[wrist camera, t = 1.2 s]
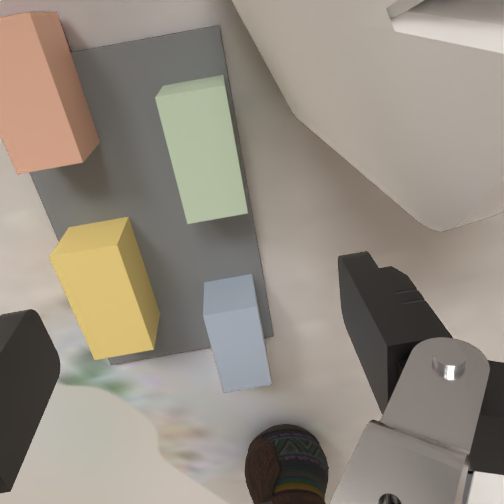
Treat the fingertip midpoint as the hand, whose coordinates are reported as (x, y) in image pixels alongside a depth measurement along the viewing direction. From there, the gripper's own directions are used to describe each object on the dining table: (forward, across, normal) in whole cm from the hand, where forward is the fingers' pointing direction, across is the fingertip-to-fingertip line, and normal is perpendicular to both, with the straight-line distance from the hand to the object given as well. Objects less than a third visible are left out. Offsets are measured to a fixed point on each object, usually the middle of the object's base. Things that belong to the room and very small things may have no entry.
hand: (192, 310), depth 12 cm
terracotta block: (+18, +8, -4) cm, 20 cm away
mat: (+18, +4, +5) cm, 19 cm away
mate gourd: (+18, -1, +29) cm, 34 cm away
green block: (+18, 0, 0) cm, 18 cm away
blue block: (+18, 0, +14) cm, 22 cm away
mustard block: (+18, +8, +8) cm, 21 cm away
